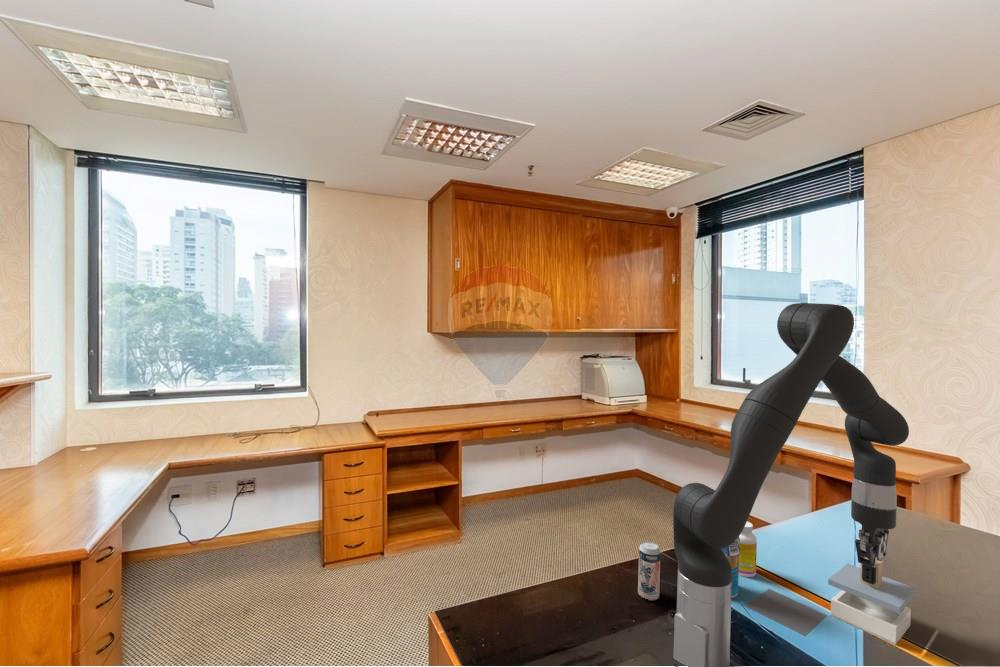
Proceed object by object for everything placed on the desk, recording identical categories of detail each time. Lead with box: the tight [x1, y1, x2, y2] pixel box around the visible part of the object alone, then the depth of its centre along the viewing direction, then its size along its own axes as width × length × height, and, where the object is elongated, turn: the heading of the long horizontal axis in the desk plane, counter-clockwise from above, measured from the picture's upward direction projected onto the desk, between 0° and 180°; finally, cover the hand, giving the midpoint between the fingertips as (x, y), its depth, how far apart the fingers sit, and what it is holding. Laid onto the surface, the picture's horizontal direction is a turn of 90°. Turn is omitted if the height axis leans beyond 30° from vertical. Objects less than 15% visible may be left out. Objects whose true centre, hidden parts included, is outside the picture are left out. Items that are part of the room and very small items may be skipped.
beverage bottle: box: [721, 537, 740, 599], centre depth 107 cm, size 8×8×20 cm
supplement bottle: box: [738, 520, 758, 578], centre depth 116 cm, size 7×7×13 cm
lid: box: [827, 557, 917, 613], centre depth 96 cm, size 12×12×6 cm
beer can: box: [637, 541, 661, 601], centre depth 104 cm, size 5×5×12 cm
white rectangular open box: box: [830, 589, 912, 646], centre depth 96 cm, size 11×11×4 cm
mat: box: [744, 588, 828, 637], centre depth 99 cm, size 12×12×1 cm
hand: (871, 579), depth 96 cm, fingers closed on lid, 3 cm apart
